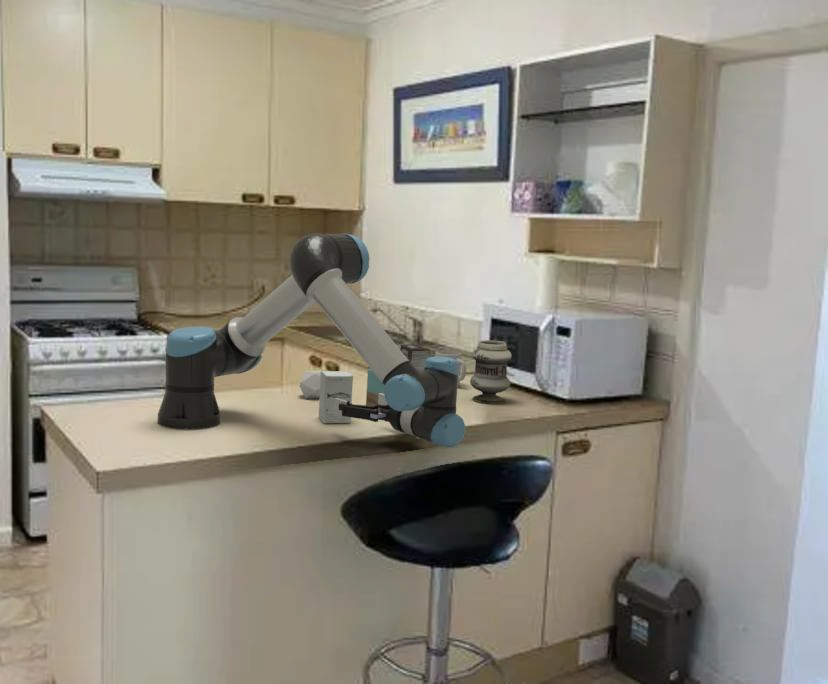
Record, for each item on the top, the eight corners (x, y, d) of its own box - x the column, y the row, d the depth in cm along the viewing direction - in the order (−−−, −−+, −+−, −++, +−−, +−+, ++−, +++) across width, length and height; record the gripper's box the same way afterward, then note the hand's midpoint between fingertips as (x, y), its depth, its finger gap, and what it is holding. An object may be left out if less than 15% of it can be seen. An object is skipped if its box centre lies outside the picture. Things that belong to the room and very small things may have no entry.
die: (319, 404, 252) (337, 376, 255) (293, 388, 251) (311, 360, 254) (316, 408, 260) (333, 381, 263) (291, 392, 259) (309, 365, 262)
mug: (428, 384, 287) (430, 351, 286) (445, 382, 293) (447, 349, 292) (455, 391, 279) (457, 356, 277) (473, 388, 285) (475, 355, 284)
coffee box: (396, 396, 265) (399, 344, 263) (416, 396, 267) (419, 344, 265) (407, 403, 257) (410, 348, 254) (428, 402, 259) (431, 348, 257)
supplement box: (322, 424, 225) (324, 375, 224) (318, 417, 233) (320, 370, 231) (351, 423, 227) (353, 375, 226) (345, 417, 235) (347, 370, 233)
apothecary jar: (465, 402, 262) (469, 342, 260) (472, 395, 274) (476, 337, 272) (506, 406, 260) (510, 346, 257) (511, 399, 271) (515, 341, 269)
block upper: (386, 397, 234) (387, 375, 234) (366, 391, 241) (367, 369, 241) (413, 394, 240) (414, 372, 239) (392, 388, 247) (393, 367, 246)
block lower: (385, 419, 235) (386, 397, 234) (365, 412, 242) (366, 391, 241) (411, 416, 241) (412, 394, 240) (391, 409, 248) (392, 388, 247)
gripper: (367, 440, 198) (315, 420, 214) (450, 428, 214) (396, 410, 230) (368, 407, 197) (316, 390, 213) (451, 397, 213) (397, 382, 229)
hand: (357, 400), depth 222 cm, fingers open, 13 cm apart
